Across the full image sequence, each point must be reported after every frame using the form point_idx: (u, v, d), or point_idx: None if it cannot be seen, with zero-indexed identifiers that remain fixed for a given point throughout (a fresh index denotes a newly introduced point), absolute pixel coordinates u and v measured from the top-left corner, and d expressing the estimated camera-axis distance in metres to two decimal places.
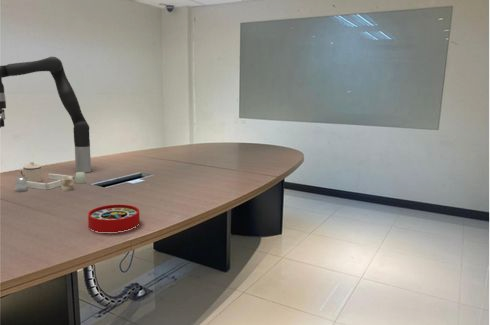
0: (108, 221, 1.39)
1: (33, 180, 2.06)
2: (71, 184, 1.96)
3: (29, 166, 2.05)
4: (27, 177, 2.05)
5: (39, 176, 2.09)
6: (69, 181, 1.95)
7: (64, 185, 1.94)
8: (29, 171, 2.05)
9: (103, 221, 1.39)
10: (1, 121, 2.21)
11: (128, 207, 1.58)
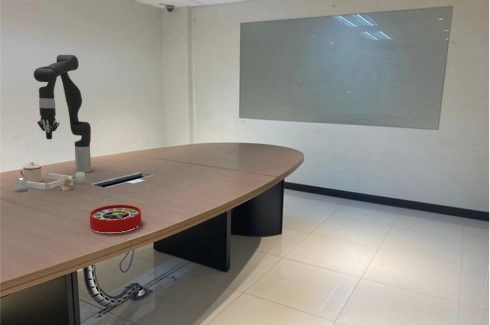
0: (110, 221, 1.39)
1: (33, 180, 2.06)
2: (71, 184, 1.96)
3: (29, 166, 2.05)
4: (27, 177, 2.05)
5: (39, 176, 2.09)
6: (69, 181, 1.95)
7: (64, 185, 1.94)
8: (29, 171, 2.05)
9: (105, 221, 1.39)
10: None
11: (129, 207, 1.58)
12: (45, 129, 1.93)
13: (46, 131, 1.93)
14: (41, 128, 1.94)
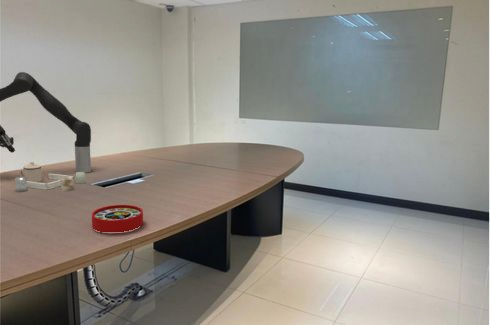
0: (112, 221, 1.39)
1: (33, 180, 2.06)
2: (71, 184, 1.96)
3: (29, 166, 2.05)
4: (27, 177, 2.05)
5: (39, 176, 2.09)
6: (69, 181, 1.95)
7: (64, 185, 1.94)
8: (29, 171, 2.05)
9: (107, 221, 1.39)
10: None
11: (131, 207, 1.58)
12: None
13: None
14: None
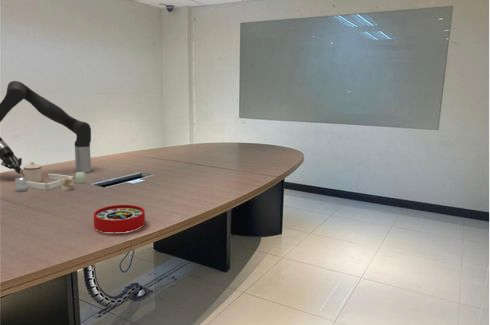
0: (114, 221, 1.39)
1: (33, 180, 2.06)
2: (71, 184, 1.96)
3: (29, 166, 2.05)
4: (27, 177, 2.05)
5: (39, 176, 2.09)
6: (69, 181, 1.95)
7: (64, 185, 1.94)
8: (29, 171, 2.04)
9: (109, 221, 1.39)
10: None
11: (133, 207, 1.58)
12: None
13: None
14: None
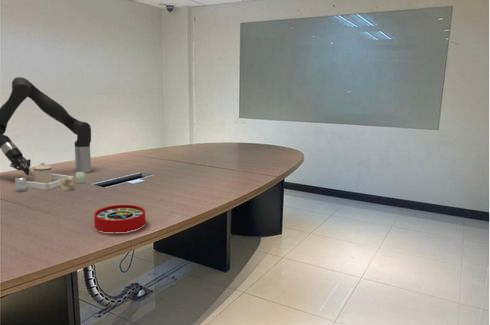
0: (115, 221, 1.39)
1: (45, 181, 2.06)
2: (71, 184, 1.96)
3: (41, 167, 2.04)
4: (39, 178, 2.04)
5: (50, 177, 2.09)
6: (69, 181, 1.95)
7: (64, 185, 1.94)
8: (41, 172, 2.04)
9: (110, 221, 1.39)
10: None
11: (133, 207, 1.58)
12: None
13: None
14: None
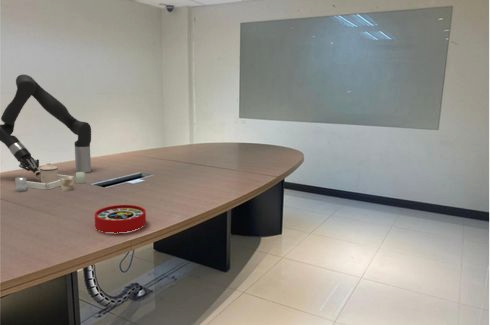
0: (115, 221, 1.39)
1: (53, 181, 2.06)
2: (71, 184, 1.96)
3: (48, 167, 2.04)
4: (47, 178, 2.04)
5: (57, 177, 2.09)
6: (69, 181, 1.95)
7: (64, 185, 1.94)
8: (49, 172, 2.04)
9: (110, 221, 1.39)
10: None
11: (134, 207, 1.58)
12: None
13: None
14: None
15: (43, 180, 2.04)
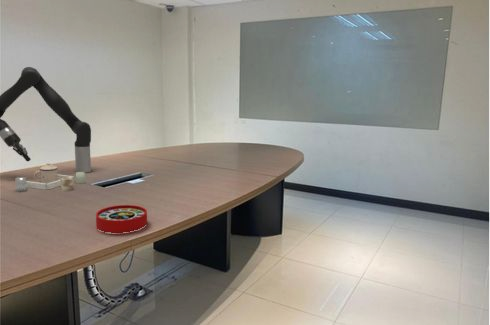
0: (117, 222, 1.39)
1: (53, 181, 2.06)
2: (71, 184, 1.96)
3: (48, 167, 2.04)
4: (47, 178, 2.04)
5: (57, 177, 2.09)
6: (69, 181, 1.95)
7: (64, 185, 1.94)
8: (50, 172, 2.04)
9: (112, 222, 1.39)
10: None
11: (135, 207, 1.57)
12: None
13: None
14: None
15: (43, 180, 2.04)
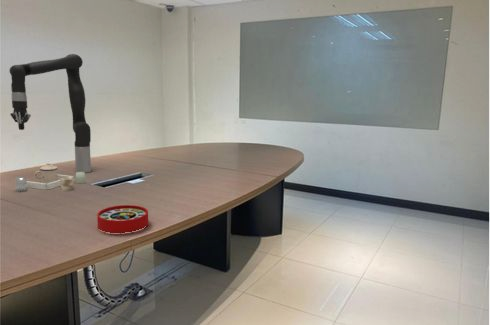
0: (118, 222, 1.39)
1: (53, 181, 2.06)
2: (71, 184, 1.96)
3: (48, 167, 2.04)
4: (47, 178, 2.04)
5: (57, 177, 2.09)
6: (69, 181, 1.95)
7: (64, 185, 1.94)
8: (50, 172, 2.04)
9: (113, 222, 1.39)
10: None
11: (136, 208, 1.57)
12: (17, 120, 2.12)
13: (18, 122, 2.12)
14: (14, 119, 2.12)
15: (43, 180, 2.04)
